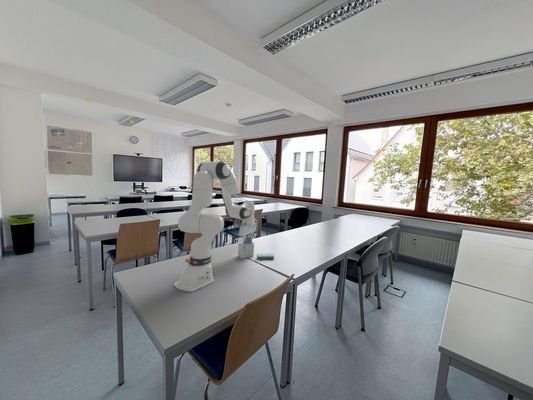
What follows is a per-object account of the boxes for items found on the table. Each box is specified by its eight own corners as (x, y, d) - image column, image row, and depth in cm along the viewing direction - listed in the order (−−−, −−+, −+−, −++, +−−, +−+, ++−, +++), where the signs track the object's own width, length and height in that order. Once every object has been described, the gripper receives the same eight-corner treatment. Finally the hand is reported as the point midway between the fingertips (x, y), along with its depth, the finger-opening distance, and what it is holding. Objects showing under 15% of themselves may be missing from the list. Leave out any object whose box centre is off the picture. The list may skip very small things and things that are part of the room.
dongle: (252, 243, 170) (253, 238, 170) (250, 244, 167) (250, 239, 167) (243, 241, 174) (243, 236, 174) (240, 242, 171) (241, 237, 170)
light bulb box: (248, 253, 178) (249, 240, 177) (253, 256, 173) (254, 242, 172) (237, 256, 171) (238, 242, 170) (242, 258, 166) (242, 244, 165)
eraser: (258, 260, 166) (258, 256, 166) (257, 257, 171) (257, 253, 170) (273, 259, 168) (273, 255, 168) (272, 257, 173) (272, 253, 173)
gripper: (244, 224, 158) (244, 243, 160) (258, 219, 176) (257, 236, 178) (237, 223, 161) (236, 241, 162) (251, 218, 179) (250, 235, 181)
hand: (247, 239), depth 170 cm, fingers open, 8 cm apart
